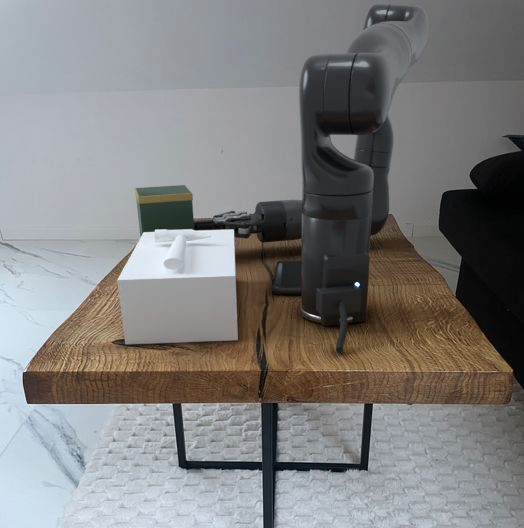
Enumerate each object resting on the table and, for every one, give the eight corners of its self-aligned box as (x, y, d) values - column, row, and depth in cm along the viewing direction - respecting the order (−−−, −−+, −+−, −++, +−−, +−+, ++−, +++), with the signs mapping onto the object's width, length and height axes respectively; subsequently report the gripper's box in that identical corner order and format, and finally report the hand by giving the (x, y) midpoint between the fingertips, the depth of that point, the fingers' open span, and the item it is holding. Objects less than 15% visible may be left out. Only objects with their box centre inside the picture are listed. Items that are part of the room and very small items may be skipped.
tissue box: (235, 280, 100) (233, 214, 96) (237, 340, 78) (234, 257, 73) (148, 283, 100) (142, 217, 95) (125, 344, 77) (114, 261, 73)
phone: (272, 287, 93) (277, 260, 106) (272, 294, 93) (277, 266, 107) (323, 288, 92) (322, 260, 106) (323, 295, 93) (322, 266, 106)
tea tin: (197, 266, 109) (192, 193, 103) (145, 271, 106) (138, 196, 101) (190, 253, 117) (185, 184, 111) (141, 257, 115) (134, 188, 109)
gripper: (273, 194, 118) (185, 200, 114) (293, 207, 107) (196, 214, 103) (273, 232, 121) (188, 239, 117) (293, 248, 110) (199, 257, 106)
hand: (192, 227), depth 110 cm, fingers closed
